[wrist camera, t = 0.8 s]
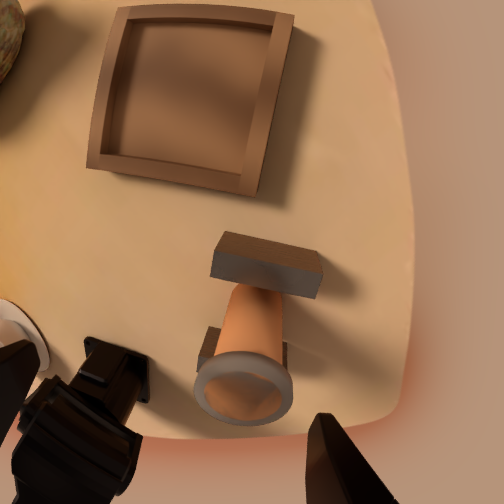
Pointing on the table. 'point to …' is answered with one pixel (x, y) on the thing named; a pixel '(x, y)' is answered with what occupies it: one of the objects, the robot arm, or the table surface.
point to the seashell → (10, 34)
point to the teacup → (20, 331)
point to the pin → (247, 362)
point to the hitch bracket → (262, 274)
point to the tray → (189, 94)
